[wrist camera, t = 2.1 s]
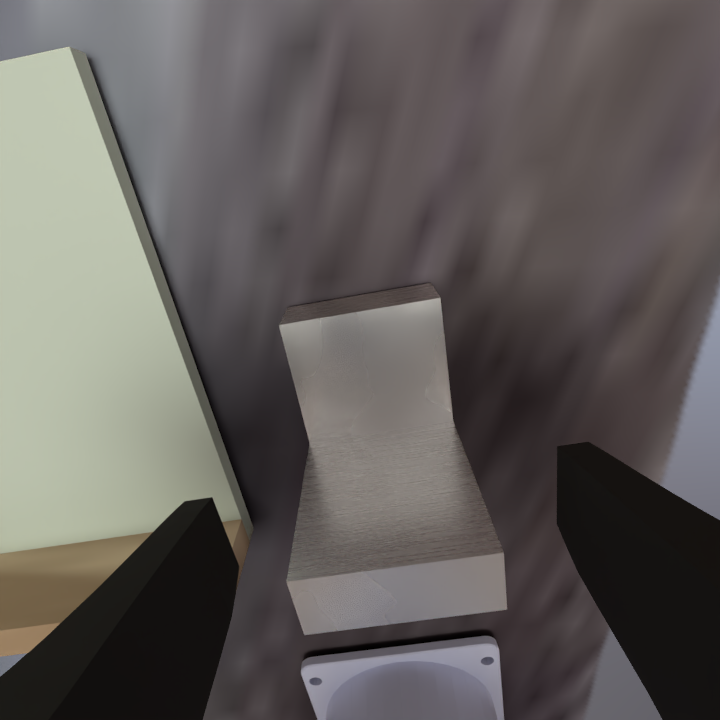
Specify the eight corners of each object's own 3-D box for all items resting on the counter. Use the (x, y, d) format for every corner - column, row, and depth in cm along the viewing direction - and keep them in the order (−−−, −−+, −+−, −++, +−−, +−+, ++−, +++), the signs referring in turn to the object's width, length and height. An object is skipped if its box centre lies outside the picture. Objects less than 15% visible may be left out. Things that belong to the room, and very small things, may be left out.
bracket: (447, 436, 14) (507, 609, 9) (323, 454, 14) (304, 635, 9) (430, 282, 12) (493, 380, 7) (287, 307, 12) (232, 421, 7)
